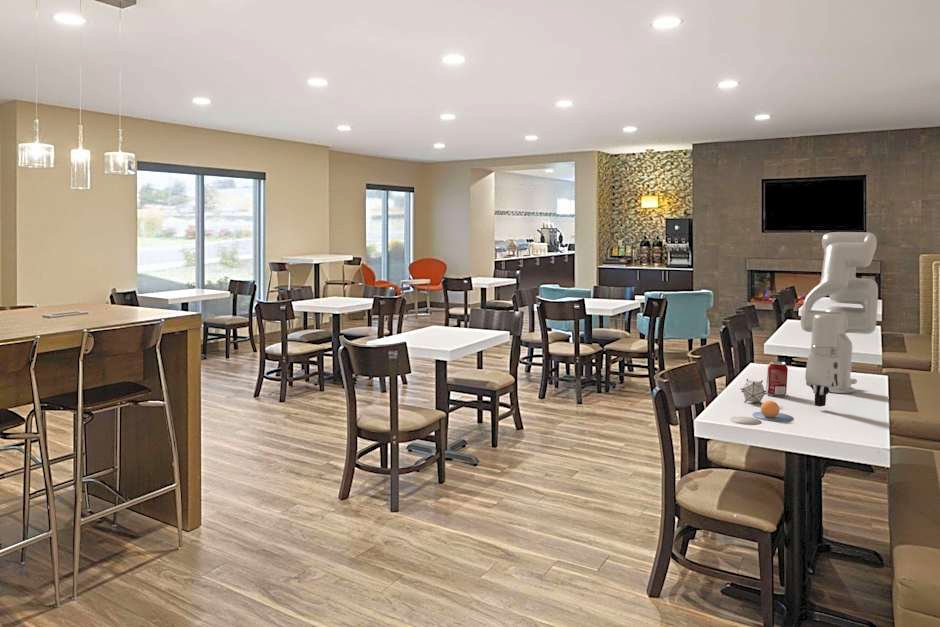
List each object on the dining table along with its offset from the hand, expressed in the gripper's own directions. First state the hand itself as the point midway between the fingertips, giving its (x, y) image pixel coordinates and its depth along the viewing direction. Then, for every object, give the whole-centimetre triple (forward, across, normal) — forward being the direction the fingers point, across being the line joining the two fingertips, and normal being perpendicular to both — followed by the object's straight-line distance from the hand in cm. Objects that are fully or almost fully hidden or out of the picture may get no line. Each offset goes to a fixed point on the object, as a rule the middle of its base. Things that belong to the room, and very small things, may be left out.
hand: (819, 405), depth 240 cm
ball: (-1, 0, +24) cm, 24 cm away
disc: (+2, 0, +22) cm, 22 cm away
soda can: (+2, +22, -5) cm, 23 cm away
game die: (+2, +17, +12) cm, 21 cm away
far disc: (+2, 0, +34) cm, 34 cm away
